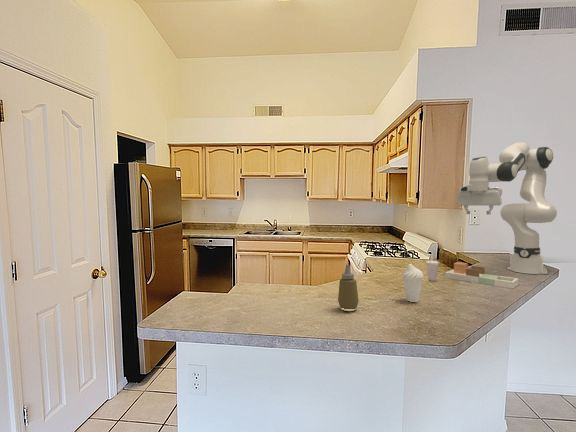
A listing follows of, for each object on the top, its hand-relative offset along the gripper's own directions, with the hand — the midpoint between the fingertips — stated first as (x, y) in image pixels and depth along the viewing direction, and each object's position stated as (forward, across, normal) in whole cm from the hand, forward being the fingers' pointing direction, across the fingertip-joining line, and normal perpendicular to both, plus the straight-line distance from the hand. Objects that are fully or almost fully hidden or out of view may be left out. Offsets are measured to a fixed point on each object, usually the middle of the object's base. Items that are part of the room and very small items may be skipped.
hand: (478, 214), depth 164 cm
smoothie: (+35, +16, +17) cm, 42 cm away
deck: (+34, -2, +3) cm, 35 cm away
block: (+31, +7, +3) cm, 32 cm away
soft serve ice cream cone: (+36, +8, +57) cm, 68 cm away
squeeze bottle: (+37, +21, +84) cm, 94 cm away
